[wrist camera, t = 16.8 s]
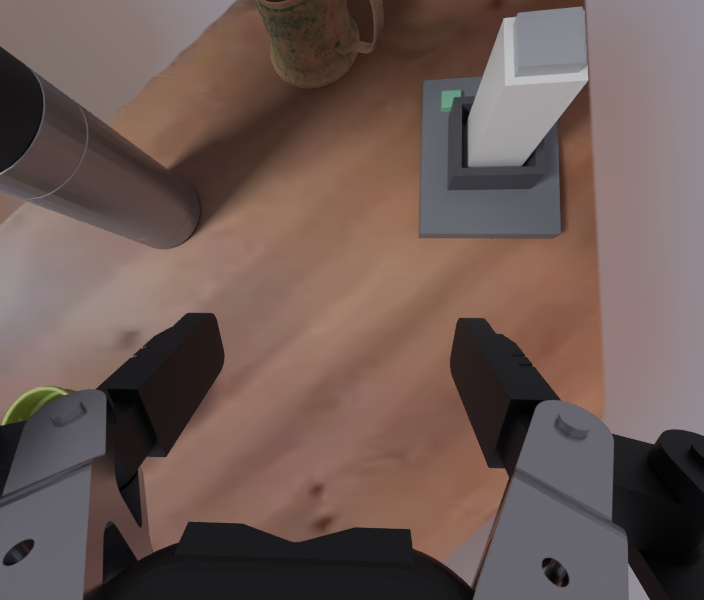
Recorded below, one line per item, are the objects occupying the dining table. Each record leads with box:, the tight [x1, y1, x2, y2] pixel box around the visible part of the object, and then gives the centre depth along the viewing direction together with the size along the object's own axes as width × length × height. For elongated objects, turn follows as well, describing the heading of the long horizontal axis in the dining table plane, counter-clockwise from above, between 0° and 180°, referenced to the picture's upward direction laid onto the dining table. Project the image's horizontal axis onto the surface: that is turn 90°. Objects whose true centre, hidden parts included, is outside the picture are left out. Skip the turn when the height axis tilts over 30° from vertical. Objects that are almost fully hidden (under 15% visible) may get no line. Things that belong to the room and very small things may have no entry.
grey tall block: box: [463, 7, 588, 168], centre depth 26 cm, size 5×5×13 cm
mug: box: [255, 0, 384, 89], centre depth 32 cm, size 12×18×12 cm, turn 46°
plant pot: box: [2, 386, 76, 425], centre depth 32 cm, size 9×9×9 cm
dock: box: [419, 77, 561, 238], centre depth 32 cm, size 18×14×4 cm
